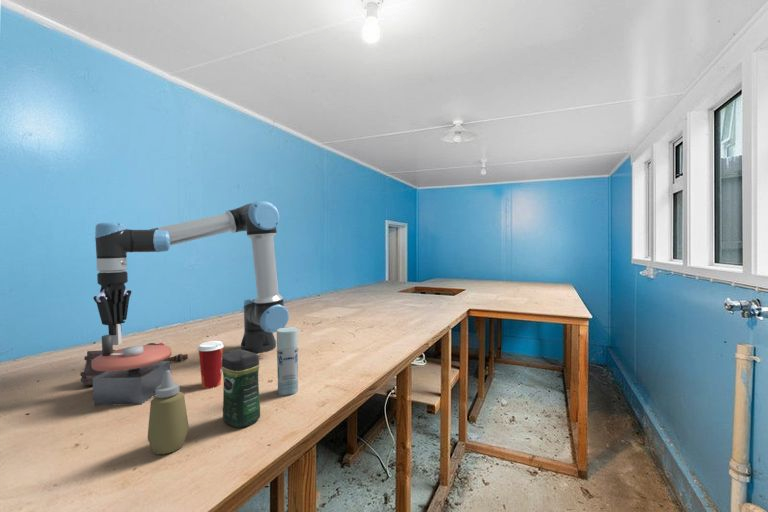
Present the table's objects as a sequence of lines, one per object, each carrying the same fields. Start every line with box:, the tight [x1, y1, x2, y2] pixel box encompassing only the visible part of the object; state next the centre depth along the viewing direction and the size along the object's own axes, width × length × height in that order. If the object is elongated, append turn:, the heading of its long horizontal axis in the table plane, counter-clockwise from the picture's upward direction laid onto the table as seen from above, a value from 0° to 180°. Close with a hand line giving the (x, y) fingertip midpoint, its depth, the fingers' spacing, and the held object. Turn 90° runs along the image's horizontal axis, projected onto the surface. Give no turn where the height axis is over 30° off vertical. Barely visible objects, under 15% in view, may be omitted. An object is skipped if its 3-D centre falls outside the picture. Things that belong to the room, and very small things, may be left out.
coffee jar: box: [222, 348, 261, 428], centre depth 90 cm, size 10×8×19 cm
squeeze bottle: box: [147, 369, 190, 455], centre depth 77 cm, size 8×8×18 cm
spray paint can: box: [276, 326, 299, 397], centre depth 107 cm, size 6×6×20 cm
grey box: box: [92, 361, 171, 406], centre depth 106 cm, size 14×14×8 cm
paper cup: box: [197, 340, 225, 389], centre depth 112 cm, size 8×8×14 cm
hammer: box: [79, 349, 189, 386], centre depth 124 cm, size 7×33×10 cm, turn 145°
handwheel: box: [91, 334, 172, 372], centre depth 105 cm, size 20×20×10 cm
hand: (115, 344), depth 108 cm, fingers closed
